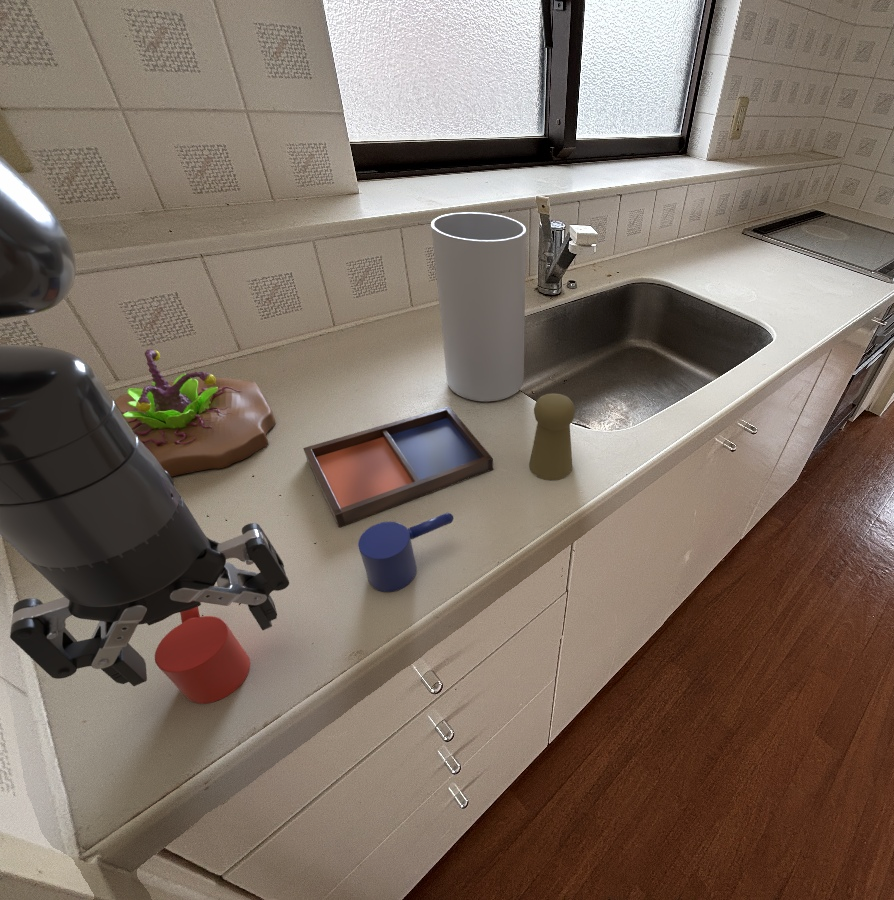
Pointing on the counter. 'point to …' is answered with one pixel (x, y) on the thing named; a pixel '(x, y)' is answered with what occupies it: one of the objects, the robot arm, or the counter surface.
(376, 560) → the blue scoop
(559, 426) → the olive pawn figure
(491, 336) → the cylinder vase
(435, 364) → the counter surface
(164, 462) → the plant
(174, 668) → the red scoop
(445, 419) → the tray
